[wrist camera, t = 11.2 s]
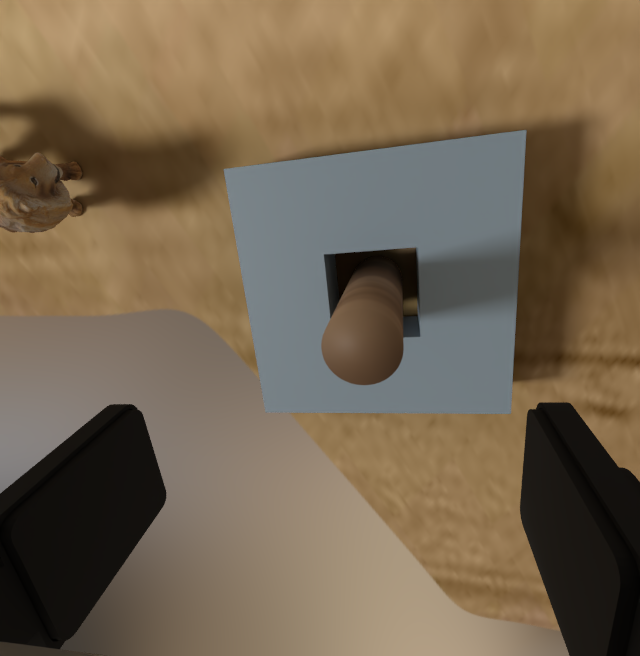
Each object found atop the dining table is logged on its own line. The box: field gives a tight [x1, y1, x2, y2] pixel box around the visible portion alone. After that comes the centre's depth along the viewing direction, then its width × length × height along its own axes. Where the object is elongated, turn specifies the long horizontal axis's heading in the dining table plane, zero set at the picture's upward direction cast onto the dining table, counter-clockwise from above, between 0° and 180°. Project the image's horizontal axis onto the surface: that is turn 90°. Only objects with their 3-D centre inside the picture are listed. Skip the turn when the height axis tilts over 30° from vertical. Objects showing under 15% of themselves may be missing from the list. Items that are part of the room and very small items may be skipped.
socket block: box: [224, 130, 526, 414], centre depth 26 cm, size 16×16×4 cm
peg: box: [321, 256, 404, 385], centre depth 22 cm, size 3×3×12 cm
